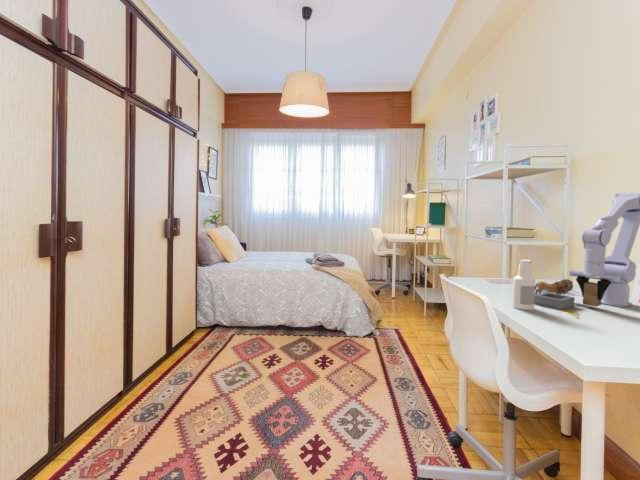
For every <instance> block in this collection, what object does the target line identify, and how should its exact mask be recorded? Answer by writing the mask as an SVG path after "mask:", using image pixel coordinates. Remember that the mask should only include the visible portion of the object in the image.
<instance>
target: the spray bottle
mask: <svg viewBox="0 0 640 480" xmlns="http://www.w3.org/2000/svg"><path fill="white" fill-rule="evenodd" d="M531 262H532V261H531V260H530V259H520V260H519V264H518V272H517V275H516V276H514V277H513V282H512V283H513V286H512V302H511V303H512V305H511V306H512V307H513V308H514V309H517V310H522V311H532V310H534V309H535V304H534V296H535V292H536V290H535V286H536V279H535V278H534V277H532V265H531Z"/></svg>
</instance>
